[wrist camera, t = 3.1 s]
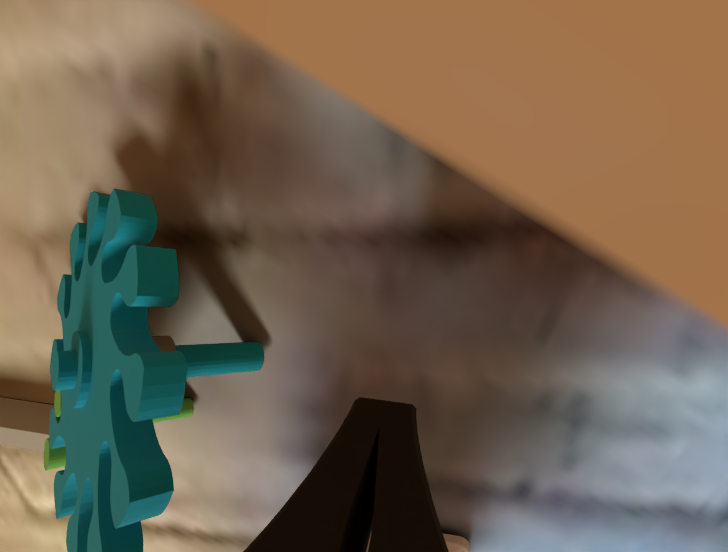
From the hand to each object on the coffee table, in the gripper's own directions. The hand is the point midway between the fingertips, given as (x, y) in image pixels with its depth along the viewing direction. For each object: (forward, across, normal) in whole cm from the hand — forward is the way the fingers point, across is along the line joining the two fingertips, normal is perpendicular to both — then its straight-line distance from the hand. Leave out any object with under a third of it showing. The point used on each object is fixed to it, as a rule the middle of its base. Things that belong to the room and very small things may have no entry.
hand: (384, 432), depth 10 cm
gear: (+5, +8, 0) cm, 10 cm away
